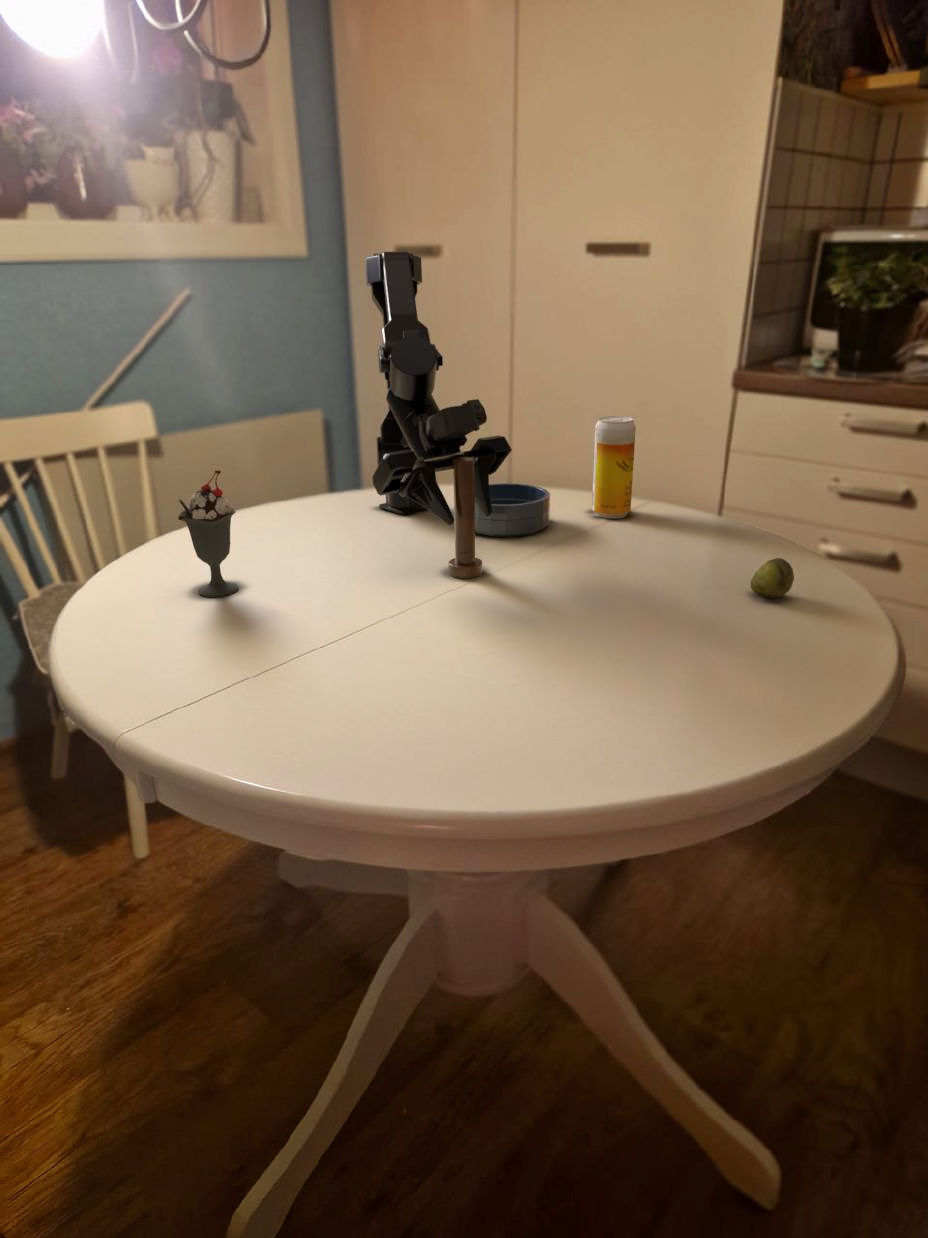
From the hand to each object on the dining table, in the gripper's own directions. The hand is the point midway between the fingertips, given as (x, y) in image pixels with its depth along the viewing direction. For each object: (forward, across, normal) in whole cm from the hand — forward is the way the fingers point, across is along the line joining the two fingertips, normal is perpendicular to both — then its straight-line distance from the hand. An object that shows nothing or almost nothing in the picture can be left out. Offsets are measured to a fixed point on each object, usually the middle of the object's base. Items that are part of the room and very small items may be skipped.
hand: (471, 519), depth 109 cm
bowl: (-5, +17, +16) cm, 24 cm away
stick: (+4, 0, +6) cm, 8 cm away
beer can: (-1, +34, +12) cm, 36 cm away
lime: (+26, +23, -15) cm, 38 cm away
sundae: (-6, -28, +16) cm, 33 cm away
